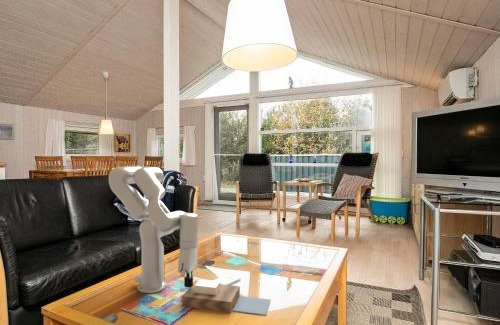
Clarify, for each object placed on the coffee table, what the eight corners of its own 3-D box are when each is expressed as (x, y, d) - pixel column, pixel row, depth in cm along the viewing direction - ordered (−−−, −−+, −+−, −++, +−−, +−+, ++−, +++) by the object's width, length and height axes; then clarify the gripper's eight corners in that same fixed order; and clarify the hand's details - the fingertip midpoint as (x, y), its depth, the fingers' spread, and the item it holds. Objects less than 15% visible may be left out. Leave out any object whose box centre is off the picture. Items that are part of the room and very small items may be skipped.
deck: (182, 305, 118) (182, 296, 118) (195, 290, 132) (196, 281, 132) (230, 312, 114) (231, 302, 114) (239, 295, 128) (239, 286, 128)
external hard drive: (209, 284, 139) (228, 276, 149) (222, 290, 134) (240, 281, 143) (209, 281, 139) (228, 273, 149) (222, 286, 134) (240, 277, 143)
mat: (232, 311, 115) (232, 310, 115) (240, 296, 127) (240, 295, 127) (265, 315, 112) (266, 314, 112) (270, 300, 124) (270, 299, 124)
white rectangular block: (194, 292, 121) (194, 285, 121) (200, 286, 127) (200, 279, 127) (215, 295, 119) (215, 287, 119) (220, 288, 125) (220, 281, 125)
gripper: (188, 237, 132) (187, 278, 133) (172, 247, 118) (172, 293, 118) (203, 239, 131) (203, 280, 131) (190, 249, 116) (189, 295, 117)
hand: (188, 286), depth 125 cm, fingers closed
